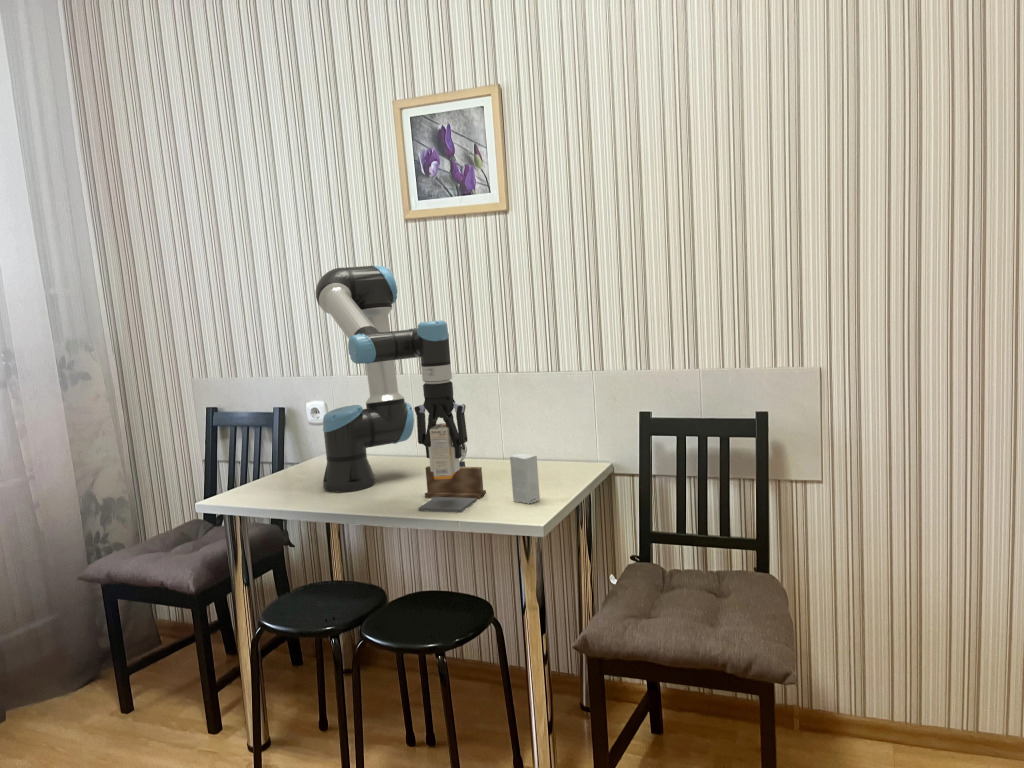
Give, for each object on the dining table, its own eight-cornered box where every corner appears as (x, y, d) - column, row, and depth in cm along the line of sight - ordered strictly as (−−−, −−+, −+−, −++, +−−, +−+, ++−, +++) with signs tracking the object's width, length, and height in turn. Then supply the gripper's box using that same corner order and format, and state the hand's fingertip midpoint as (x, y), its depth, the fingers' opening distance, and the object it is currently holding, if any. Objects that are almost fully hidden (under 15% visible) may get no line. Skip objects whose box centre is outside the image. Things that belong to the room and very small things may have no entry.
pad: (418, 510, 197) (418, 507, 197) (435, 499, 206) (435, 496, 206) (461, 512, 192) (460, 509, 192) (476, 501, 202) (476, 498, 202)
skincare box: (540, 500, 198) (537, 455, 196) (529, 504, 195) (525, 458, 193) (524, 497, 202) (520, 452, 201) (512, 501, 199) (509, 456, 198)
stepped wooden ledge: (425, 497, 209) (422, 469, 208) (433, 492, 213) (430, 464, 212) (479, 499, 203) (476, 470, 202) (486, 494, 208) (483, 465, 207)
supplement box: (439, 472, 202) (435, 423, 201) (457, 471, 202) (453, 422, 200) (433, 479, 194) (428, 429, 193) (451, 479, 194) (447, 428, 192)
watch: (463, 476, 230) (460, 440, 229) (439, 475, 233) (436, 439, 232) (471, 471, 235) (468, 436, 234) (448, 470, 238) (445, 436, 237)
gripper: (398, 384, 195) (406, 473, 198) (464, 382, 188) (472, 474, 191) (412, 380, 202) (419, 466, 205) (476, 378, 195) (484, 467, 198)
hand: (445, 470), depth 198 cm, fingers closed on supplement box, 6 cm apart
